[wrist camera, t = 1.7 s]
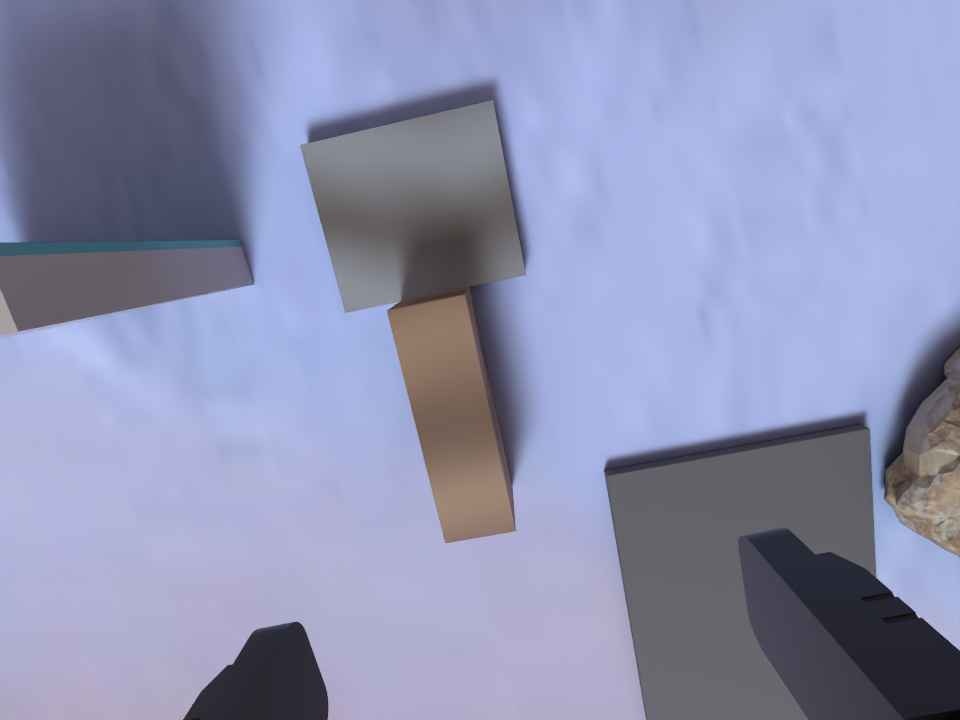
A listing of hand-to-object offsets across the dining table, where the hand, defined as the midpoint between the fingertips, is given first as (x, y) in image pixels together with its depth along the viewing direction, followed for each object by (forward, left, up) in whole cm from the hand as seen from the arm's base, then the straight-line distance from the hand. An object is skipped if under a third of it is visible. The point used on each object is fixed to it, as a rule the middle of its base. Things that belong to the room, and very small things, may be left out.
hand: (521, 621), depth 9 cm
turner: (-3, -2, -15) cm, 16 cm away
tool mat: (+15, +10, -15) cm, 24 cm away
